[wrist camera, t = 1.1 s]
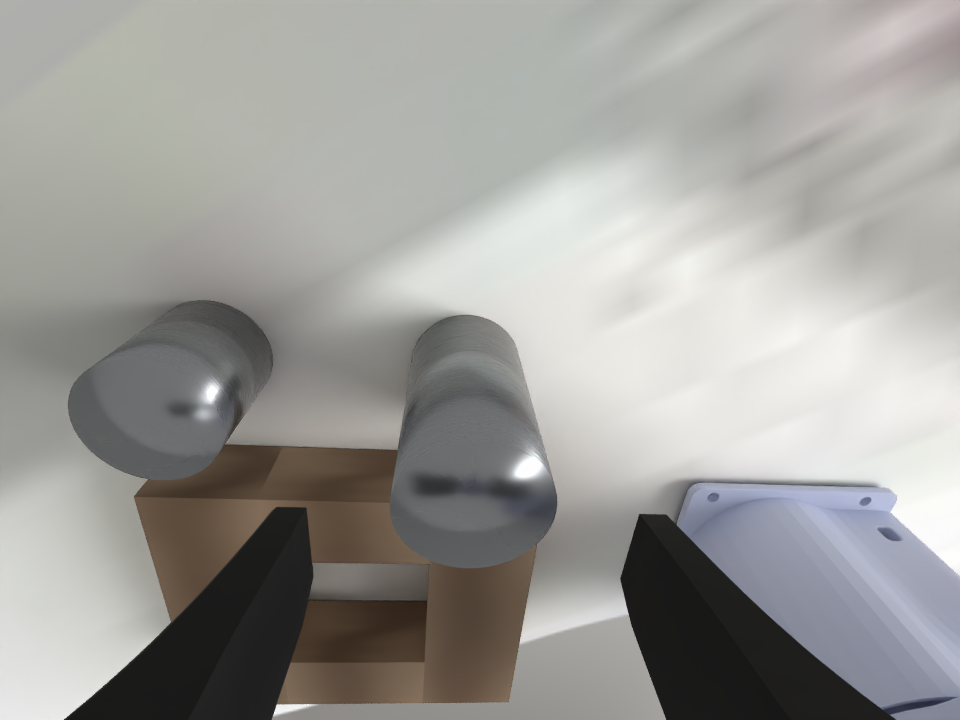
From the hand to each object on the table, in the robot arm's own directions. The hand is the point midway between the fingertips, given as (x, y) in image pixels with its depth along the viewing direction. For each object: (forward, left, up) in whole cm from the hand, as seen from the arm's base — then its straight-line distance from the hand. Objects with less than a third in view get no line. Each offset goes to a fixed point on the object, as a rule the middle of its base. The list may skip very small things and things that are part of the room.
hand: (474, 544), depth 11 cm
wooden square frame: (+4, +10, -9) cm, 14 cm away
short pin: (+9, 0, -9) cm, 12 cm away
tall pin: (0, 0, -9) cm, 9 cm away
